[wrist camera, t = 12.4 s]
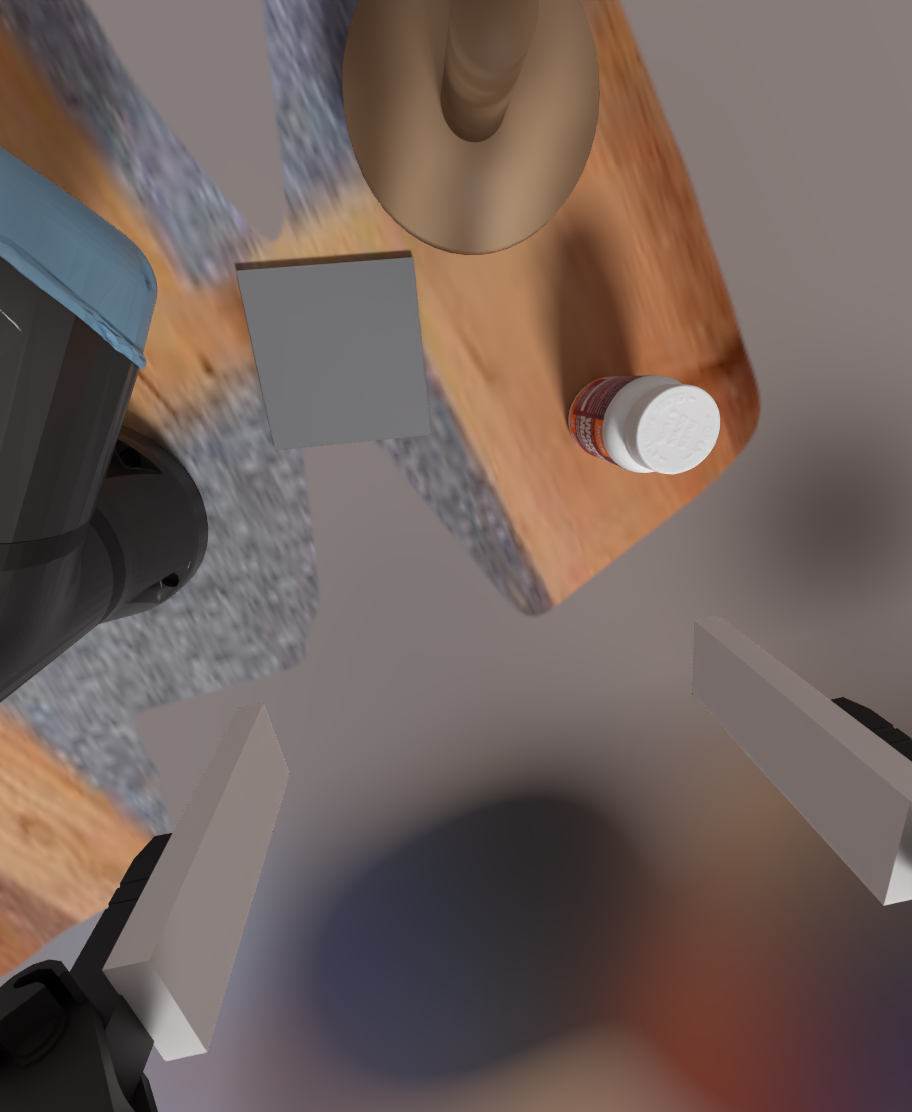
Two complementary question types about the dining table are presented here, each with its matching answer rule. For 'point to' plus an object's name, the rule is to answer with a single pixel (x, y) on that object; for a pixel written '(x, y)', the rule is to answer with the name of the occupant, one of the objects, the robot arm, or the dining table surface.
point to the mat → (338, 351)
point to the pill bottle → (645, 423)
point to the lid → (471, 114)
